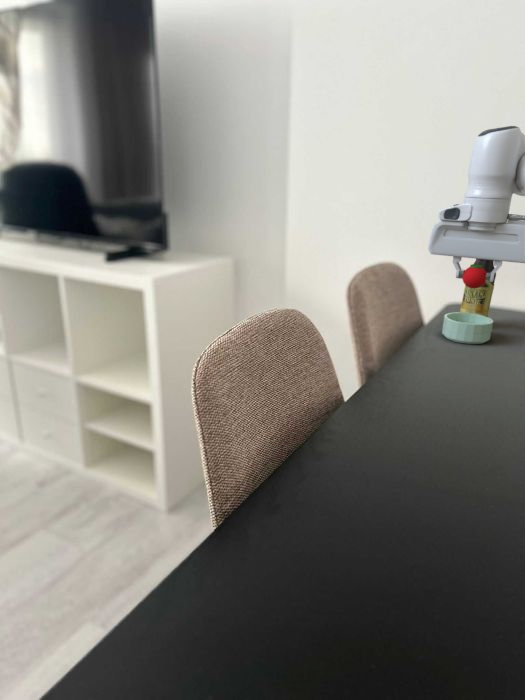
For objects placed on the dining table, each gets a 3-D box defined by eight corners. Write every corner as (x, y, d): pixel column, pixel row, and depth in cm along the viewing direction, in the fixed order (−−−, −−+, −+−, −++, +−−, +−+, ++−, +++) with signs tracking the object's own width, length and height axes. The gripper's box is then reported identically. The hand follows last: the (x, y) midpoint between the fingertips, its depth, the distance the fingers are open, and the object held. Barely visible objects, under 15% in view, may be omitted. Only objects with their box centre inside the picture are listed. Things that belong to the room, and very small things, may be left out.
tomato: (478, 286, 112) (482, 263, 110) (488, 290, 107) (492, 267, 106) (457, 285, 112) (460, 263, 110) (466, 290, 107) (470, 267, 106)
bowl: (477, 331, 118) (480, 312, 117) (498, 345, 109) (501, 324, 107) (435, 331, 118) (437, 312, 116) (452, 344, 108) (455, 324, 107)
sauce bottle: (453, 324, 123) (466, 240, 117) (465, 320, 127) (478, 238, 121) (480, 330, 119) (495, 244, 112) (491, 325, 123) (506, 241, 116)
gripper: (542, 215, 102) (529, 283, 107) (437, 209, 112) (429, 272, 116) (541, 216, 97) (527, 288, 102) (431, 210, 106) (422, 276, 111)
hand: (474, 279), depth 109 cm, fingers closed on tomato, 4 cm apart
